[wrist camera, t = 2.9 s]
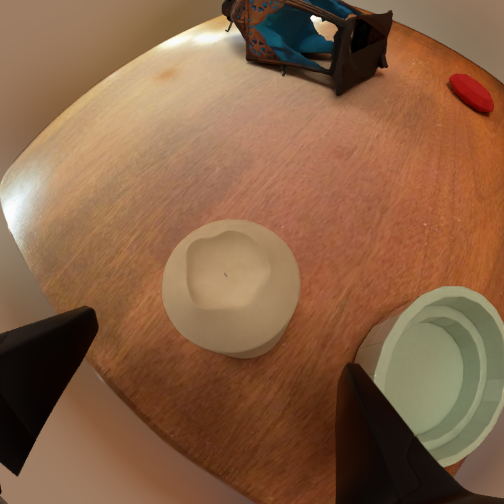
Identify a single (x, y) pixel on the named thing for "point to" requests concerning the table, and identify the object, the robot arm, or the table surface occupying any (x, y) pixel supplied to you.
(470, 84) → the gemstone
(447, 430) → the bowl
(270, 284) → the candle
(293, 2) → the lantern
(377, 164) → the table surface
